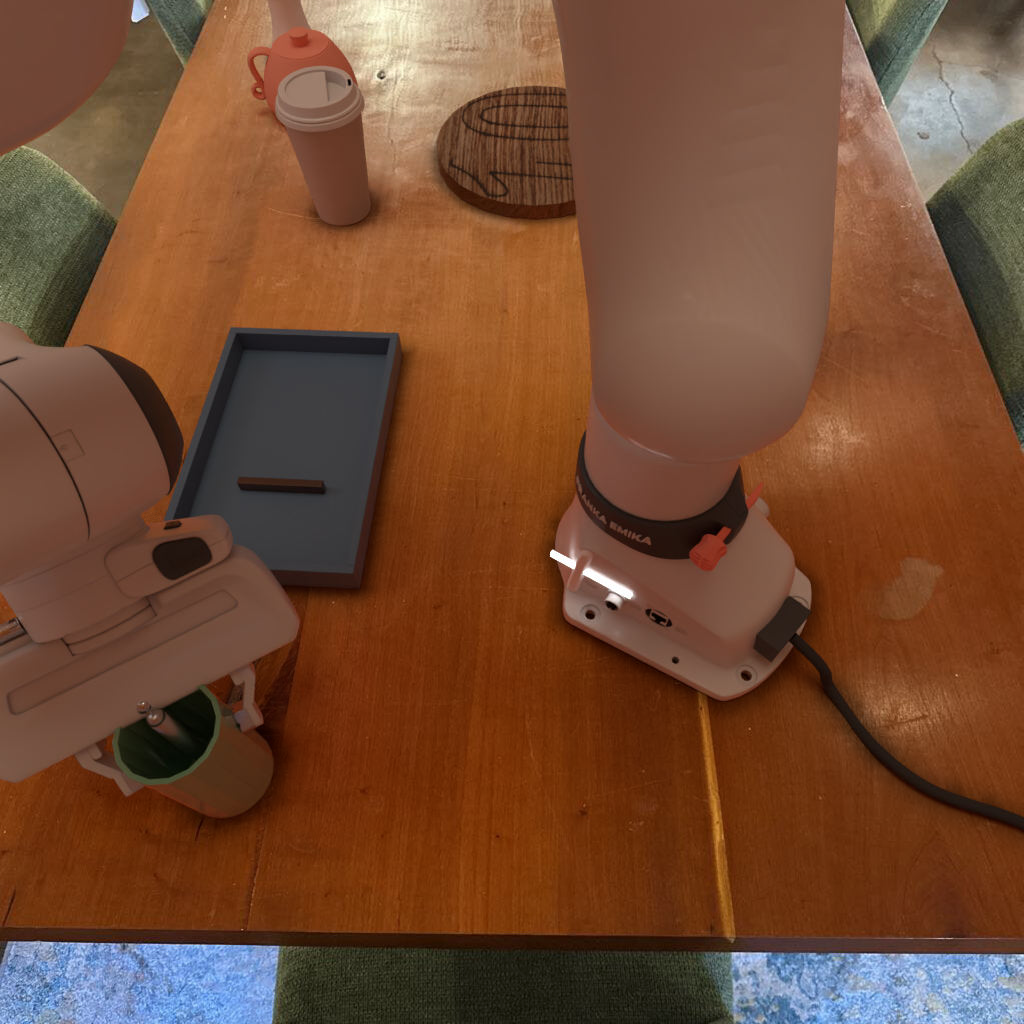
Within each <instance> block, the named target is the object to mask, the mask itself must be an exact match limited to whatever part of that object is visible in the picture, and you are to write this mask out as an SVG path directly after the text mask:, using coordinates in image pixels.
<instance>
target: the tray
mask: <svg viewBox="0 0 1024 1024" xmlns="http://www.w3.org/2000/svg"><path fill="white" fill-rule="evenodd" d="M225 339H226V340H225V342H224V345H223V348H222V352H221V354H220V357H219V359H218V363H217V365H216V368H215V372H214V374H213V376H212V380H211V383H210V386H209V389H208V392H207V394H206V396H205V397H206V398H205V400H204V403H203V405H202V409H201V412H200V414H199V418H198V421H197V423H196V426H195V428H194V432H193V435H192V438H191V441H190V443H189V446H188V449H187V452H186V455H185V457H184V461H183V463H182V465H181V468H180V471H179V474H178V477H177V480H176V483H175V485H174V486H175V487H174V489H173V493H172V495H171V498H170V501H169V504H168V507H167V509H166V513H165V516H164V517H163V521H170V520H177V519H183V518H190V517H196V516H203V515H211V514H214V515H219V516H221V517H222V518H223V519H224V520H225V521H226V522H227V524H228V526H229V528H230V530H231V532H232V536H233V544H236V545H241V546H244V547H246V548H248V549H250V550H251V551H253V552H254V553H255V554H256V555H257V556H258V557H259V558H260V559H261V560H262V561H263V562H264V564H265V565H266V566H267V567H268V569H269V570H270V571H271V572H272V574H273V575H274V576H275V578H276V579H277V581H278V582H279V584H280V585H281V586H295V587H315V588H332V589H333V588H334V589H335V588H337V589H353V590H354V589H355V590H356V589H357V590H359V589H360V588H361V584H362V577H363V573H364V567H365V562H366V556H367V552H368V551H367V550H368V546H369V545H368V544H369V540H370V534H371V530H372V529H371V528H372V524H373V518H374V513H375V507H376V500H377V495H378V492H379V491H378V490H379V485H380V479H381V473H382V468H383V463H384V459H385V452H386V447H387V442H388V435H389V430H390V424H391V420H392V414H393V408H394V403H395V398H396V392H397V386H398V381H399V375H400V369H401V365H402V358H403V353H404V352H403V348H402V343H401V342H402V341H401V338H400V333H399V332H382V331H357V330H356V331H353V330H328V329H296V328H272V327H271V328H269V327H268V328H267V327H241V326H240V327H239V326H230V328H229V330H228V334H227V337H226V338H225ZM239 477H257V478H280V479H303V480H323V481H324V484H325V486H326V489H325V493H324V494H316V493H294V492H272V491H250V490H240V488H239V486H238V485H237V481H238V478H239Z"/></svg>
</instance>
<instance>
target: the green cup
mask: <svg viewBox="0 0 1024 1024" xmlns="http://www.w3.org/2000/svg"><path fill="white" fill-rule="evenodd" d="M196 688H198V689H199V690H197V691H195V692H193V693H191V694H189V695H188V696H186V697H184V698H182V699H180V700H178V701H176V702H174V703H172V704H170V705H168V706H166V707H164V708H166V709H167V710H168V711H170V712H171V713H172V714H173V715H175V716H176V717H177V718H179V719H180V720H181V721H183V722H184V723H185V724H186V725H188V726H189V727H190V728H192V729H193V730H194V731H195V732H197V733H198V734H199V735H201V736H202V737H203V738H205V739H206V740H207V741H208V742H210V743H209V745H208V747H207V749H206V751H205V753H204V754H203V755H202V756H201V757H200V758H199V759H198V760H197V761H195V760H194V759H193V758H191V757H190V756H189V755H187V754H186V753H185V752H183V751H182V750H181V749H179V748H178V747H177V746H175V745H174V744H173V743H171V742H170V741H169V740H167V739H166V738H164V737H163V736H162V735H160V734H159V733H158V732H156V731H155V730H154V729H152V728H151V727H150V726H149V725H148V724H147V722H146V719H145V718H143V719H141V720H139V721H137V722H135V723H133V724H131V725H129V726H128V727H126V728H124V729H122V728H121V726H120V727H118V728H116V729H115V732H114V734H113V738H112V742H111V746H112V750H113V754H114V756H115V760H116V763H117V765H118V766H119V767H120V769H121V770H122V771H123V772H124V773H125V775H126V776H127V777H128V778H129V779H131V780H133V781H135V782H138V783H140V784H142V785H144V786H146V787H145V788H148V789H150V790H152V791H154V792H156V793H159V794H160V795H163V796H164V797H167V798H169V799H170V800H173V801H175V802H177V803H178V804H181V805H182V806H185V807H187V808H189V809H191V810H194V811H195V812H198V813H200V814H202V815H205V816H207V817H211V818H214V819H215V818H216V819H228V818H233V817H236V816H239V815H241V814H243V813H245V812H247V811H248V810H250V809H251V808H252V807H254V806H255V805H256V804H257V803H258V802H259V801H260V800H261V799H262V797H264V795H265V794H266V792H267V790H268V788H269V786H270V784H271V781H272V778H273V775H274V768H275V761H274V760H275V759H274V755H273V751H272V749H271V746H270V745H269V743H268V741H266V739H265V738H264V737H263V736H262V735H261V734H260V733H259V732H258V731H257V730H256V728H254V729H252V730H250V731H248V732H246V733H244V734H243V733H242V731H241V730H240V727H239V724H238V723H236V721H235V719H234V717H233V715H232V713H233V712H232V711H233V710H232V707H230V706H229V705H228V704H226V703H225V702H224V700H222V699H221V698H220V697H219V696H217V695H216V694H215V693H214V692H213V691H212V690H211V689H209V688H208V687H207V686H205V685H203V684H201V685H199V686H197V687H196Z"/></svg>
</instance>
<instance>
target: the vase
mask: <svg viewBox="0 0 1024 1024" xmlns="http://www.w3.org/2000/svg"><path fill="white" fill-rule="evenodd" d="M266 1H267V4H268V8H269V13H270V20H271V29H272V33H271V34H272V37H271V38H272V39H271V45H270V47H269V48H270V49H271V47H272V44H273V42H274V41H275V40H276V39H277V38H278V37H279V36H281V35H282V34H284V33H287V32H288V31H289V30H290V29H292V28H294V27H304V28H306V29H312V28H311V26H310V24H309V22H308V19H307V17H306V14H305V11H304V9H303V6H302V2H301V0H266Z"/></svg>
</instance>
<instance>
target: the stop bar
mask: <svg viewBox="0 0 1024 1024" xmlns="http://www.w3.org/2000/svg"><path fill="white" fill-rule="evenodd" d="M237 485H238V486H239V488H240V490H250V491H272V492H294V493H316V494H324V493H325V489H326V486H325V484H324V481H323V480H303V479H280V478H257V477H239V478H238V481H237Z"/></svg>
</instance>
